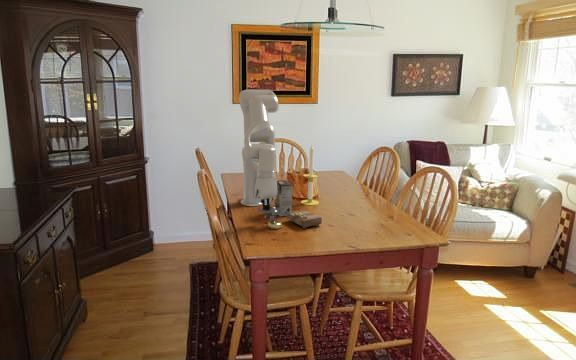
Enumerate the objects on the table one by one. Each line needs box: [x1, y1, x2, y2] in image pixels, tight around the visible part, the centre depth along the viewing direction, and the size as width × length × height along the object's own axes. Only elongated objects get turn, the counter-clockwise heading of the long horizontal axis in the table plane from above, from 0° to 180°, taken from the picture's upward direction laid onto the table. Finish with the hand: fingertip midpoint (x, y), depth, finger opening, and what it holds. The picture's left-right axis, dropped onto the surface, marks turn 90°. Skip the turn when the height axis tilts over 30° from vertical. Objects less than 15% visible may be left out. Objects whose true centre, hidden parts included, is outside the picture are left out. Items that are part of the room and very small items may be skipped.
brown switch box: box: [286, 209, 323, 230], centre depth 216 cm, size 14×10×6 cm
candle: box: [300, 144, 320, 206], centre depth 247 cm, size 10×10×32 cm
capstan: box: [255, 205, 288, 230], centre depth 210 cm, size 16×15×9 cm
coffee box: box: [274, 179, 294, 217], centre depth 230 cm, size 9×6×16 cm
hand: (266, 212), depth 214 cm, fingers closed
